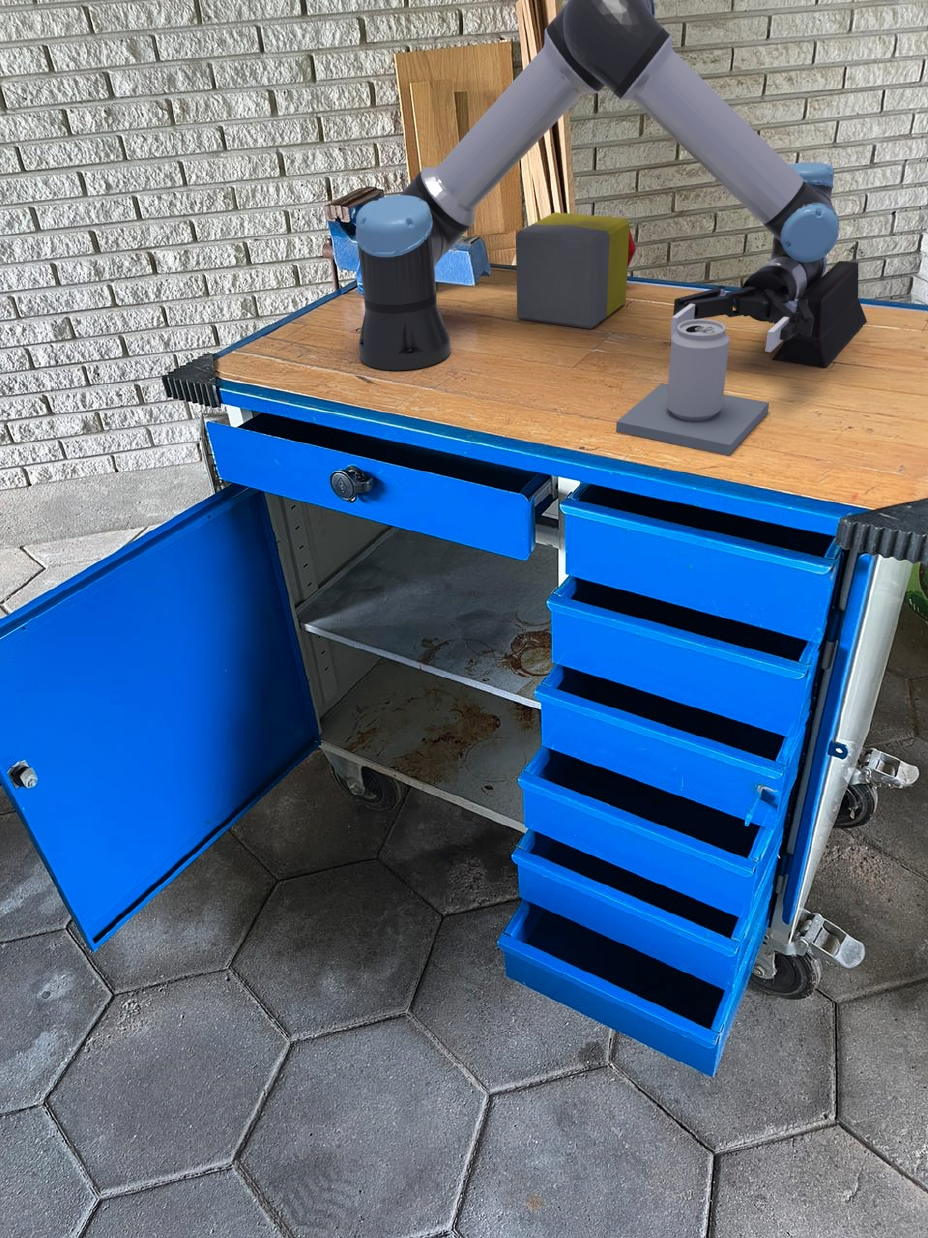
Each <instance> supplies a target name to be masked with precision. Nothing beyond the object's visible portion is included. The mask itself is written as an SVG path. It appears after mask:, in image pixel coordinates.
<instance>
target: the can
mask: <svg viewBox="0 0 928 1238" xmlns="http://www.w3.org/2000/svg"><path fill="white" fill-rule="evenodd" d="M726 329H727V326H725V324H724V323H722V322H720V321H717V320H713V319H708V318H701V319H693V320H687V321H684V322H681V323H680V324H679V325H678V326H677V330H678V331H677V332H675V333H674V334H673V335H672V336H671V341H670V355H669V364H668V365H669V366H668V368H669V369H668V382H667V384H668V391H667V404H666V407H667V408H668V410H670V411H671V412H672V413H673V415H675V416H676V417H678V418H681V419H685V420H695V421H697V420H705V419H709V418H711V417H713V416H714V415H715V414H716V413H718V412H719V411H720V410H721V409H722V403H723V394H725V393H724V391H725V384H726V375H727V367H728V357H729V348H730V341H731V340H730V336H729V335H728V334H727V332H726Z"/></svg>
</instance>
